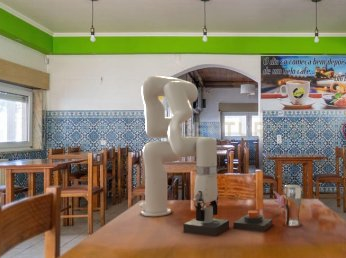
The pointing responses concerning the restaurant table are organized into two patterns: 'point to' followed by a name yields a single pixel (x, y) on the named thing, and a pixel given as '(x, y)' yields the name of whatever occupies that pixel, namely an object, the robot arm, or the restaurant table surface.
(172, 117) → the robot arm
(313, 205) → the restaurant table surface
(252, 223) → the power block
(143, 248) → the restaurant table surface
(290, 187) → the beer glass
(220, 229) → the panel
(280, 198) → the lily
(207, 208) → the timer knob
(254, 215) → the power button
